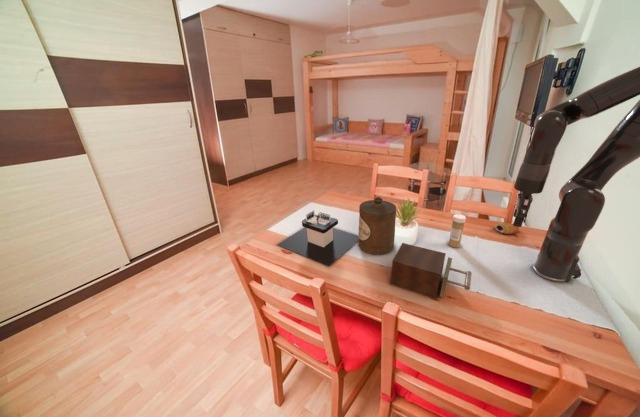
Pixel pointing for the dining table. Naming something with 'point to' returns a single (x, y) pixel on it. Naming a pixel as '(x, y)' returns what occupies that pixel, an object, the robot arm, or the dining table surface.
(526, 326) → the dining table surface
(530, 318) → the dining table surface
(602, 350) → the dining table surface
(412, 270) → the cabinet
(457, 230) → the sprinkles bottle
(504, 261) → the dining table surface
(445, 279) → the drawer
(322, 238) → the capped box on tray
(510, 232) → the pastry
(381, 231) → the wooden container
